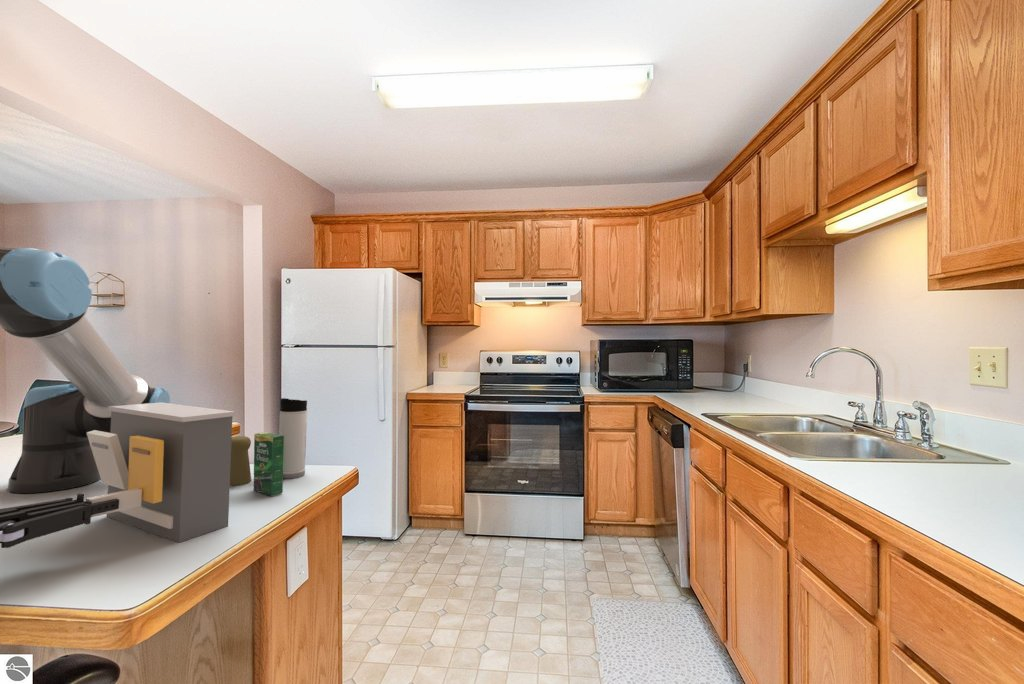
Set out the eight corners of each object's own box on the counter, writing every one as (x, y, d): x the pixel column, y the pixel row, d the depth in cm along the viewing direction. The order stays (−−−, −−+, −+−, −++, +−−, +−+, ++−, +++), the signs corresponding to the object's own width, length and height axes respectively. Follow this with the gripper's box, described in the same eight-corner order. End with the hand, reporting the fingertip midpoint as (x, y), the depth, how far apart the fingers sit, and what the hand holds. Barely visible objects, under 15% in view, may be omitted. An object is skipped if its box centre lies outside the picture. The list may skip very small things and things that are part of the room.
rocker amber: (151, 504, 70) (153, 441, 71) (125, 496, 74) (127, 436, 74) (162, 501, 72) (163, 440, 72) (136, 493, 75) (138, 435, 75)
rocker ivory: (122, 490, 77) (106, 437, 75) (100, 483, 80) (84, 433, 78) (132, 486, 78) (117, 434, 76) (110, 479, 82) (94, 429, 79)
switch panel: (177, 544, 72) (182, 417, 72) (103, 516, 82) (108, 406, 83) (230, 525, 80) (235, 411, 80) (156, 503, 90) (161, 402, 91)
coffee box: (251, 490, 100) (253, 432, 100) (264, 487, 102) (266, 430, 103) (270, 497, 95) (272, 437, 96) (283, 493, 98) (285, 435, 98)
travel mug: (270, 477, 110) (273, 397, 110) (291, 471, 116) (294, 395, 117) (289, 480, 108) (292, 399, 108) (310, 473, 114) (312, 397, 114)
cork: (215, 484, 103) (217, 437, 104) (238, 477, 109) (240, 433, 109) (235, 487, 102) (237, 440, 102) (257, 480, 107) (259, 435, 108)
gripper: (-122, 569, 54) (118, 513, 75) (-92, 596, 48) (159, 527, 69) (-116, 507, 54) (121, 469, 75) (-86, 526, 48) (162, 479, 69)
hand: (139, 496), depth 72 cm, fingers closed
